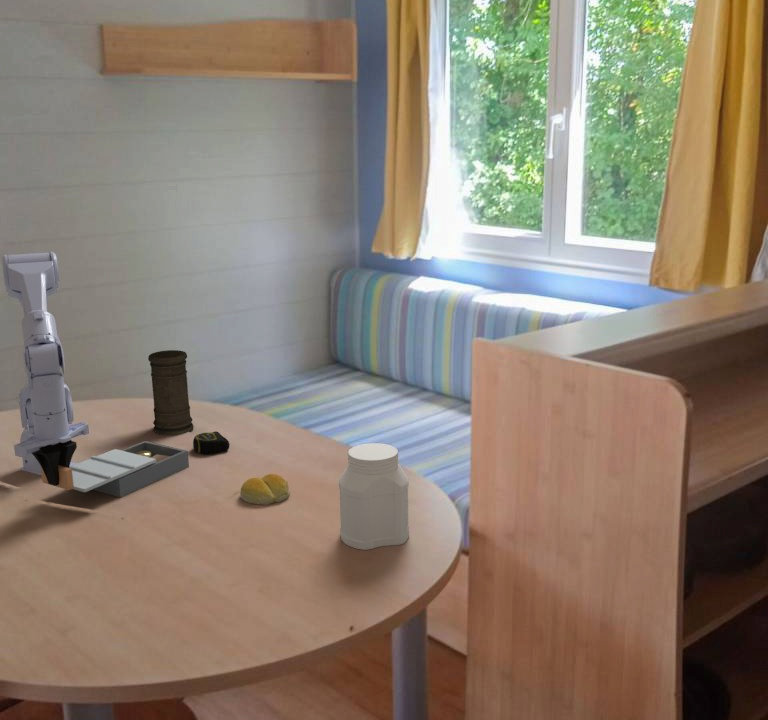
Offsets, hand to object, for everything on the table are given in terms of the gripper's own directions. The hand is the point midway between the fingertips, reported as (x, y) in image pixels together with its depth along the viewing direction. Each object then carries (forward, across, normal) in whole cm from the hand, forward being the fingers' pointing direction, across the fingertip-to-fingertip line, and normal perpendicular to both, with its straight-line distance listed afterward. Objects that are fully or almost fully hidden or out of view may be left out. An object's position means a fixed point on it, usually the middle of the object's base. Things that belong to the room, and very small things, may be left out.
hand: (57, 482), depth 168 cm
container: (+6, +43, +14) cm, 45 cm away
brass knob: (+5, +23, +2) cm, 23 cm away
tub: (+5, +18, 0) cm, 19 cm away
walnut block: (+5, +22, -2) cm, 23 cm away
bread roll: (+6, +24, -28) cm, 37 cm away
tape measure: (+6, +37, -3) cm, 38 cm away
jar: (+6, +20, -55) cm, 59 cm away
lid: (+1, +9, 0) cm, 9 cm away
